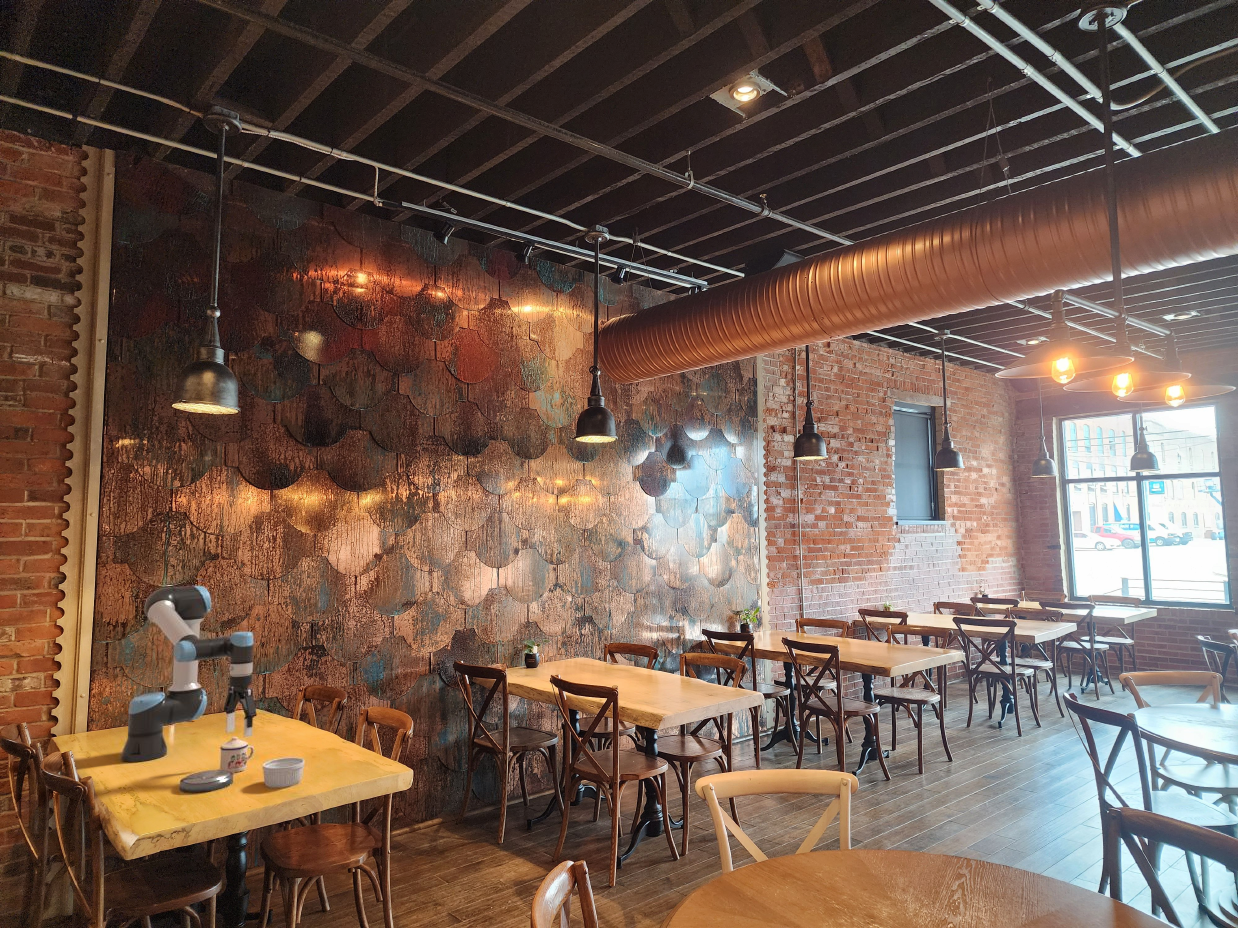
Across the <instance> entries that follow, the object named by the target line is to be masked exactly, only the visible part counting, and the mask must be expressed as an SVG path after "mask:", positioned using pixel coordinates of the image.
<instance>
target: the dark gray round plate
mask: <svg viewBox="0 0 1238 928" xmlns="http://www.w3.org/2000/svg"><path fill="white" fill-rule="evenodd" d="M233 783H234V773H232V772H230V771H226V770H220V769H214V770H213V769H211V770H205V771H197V772H195V773H191V774H189V775H187V776H184V777H183V778H181V779H180V780H179V791H180V792H182V793H184V794H201V793H203V794H204V793H208V792H214V791H219V790H223V789H225V788H227V787H229V786H231V785H232V784H233ZM230 784H231V785H230Z"/></svg>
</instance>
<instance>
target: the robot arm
mask: <svg viewBox="0 0 1238 928" xmlns="http://www.w3.org/2000/svg"><path fill="white" fill-rule="evenodd" d="M211 599H212V598H211V595H210V592H209V590H208V589H207V588H206V587H204V586H202V585H186V586H171V587H169V586H166V587H161V588H159V589H157V590H155V591H154V592H152V593H151V594H150V595H149V596H148V597H147V599H146V601H145V604H144V606H143V607H144V608H143V609H144V614H145V616H146V617H147V619H148V620H149V621H150V622H152V623H155V624H156V625H157V626H158V628H160V629H161V631H162V632H163V634H164V636H166V637H167V639H168V640H169V641H170V642H171V643H172V644H173V674H172V675H173V676H172V685H171V686H170V687H168V689H167V694H165V692H163V691H155V692H148V693H145V694H142V695H141V694H140V695H138V696H136V697H134V698H133V699H132V700H130V702H129V708H128V720H127V721H128V723H127V739H126V741H125V744H124V746H123V748H122V751H121V755H120V760H121V762H126V763H138V762H147V761H152V760H156V759H159V758H162V757H164V756H166V755H167V754H168V745H167V743H166V739H165V737H164V733H163V731H164V726H168V725H172V724H173V725H175V724H179V723H185V722H187V723H188V722H190V721H194V720H198V719H200V718H201V716H203V714H204V713H205V710H206V708H207V704H208V703H207V702H208V697H207V693H206V690H204V689H202V685H201V684H200V683H199V682H198V674H199V673H198V670H199V661H203V660H212V659H220V658H221V659H222V658H229V659H230V660H229V667H228V669H229V675H230V676H229V681H228V685H229V686H228V688H227V689H228V691H227V695H226V699H225V703H224V706H223V712H225V714H226V725H225V726H226V727H225V728H226V729H225V732H226V733H231V732H234V731H235V729H236V728H235V727H236V724H235V723H236V708H237V706H238V703H239V704H241V706H242V707H241V708H242V710H243V713H244V717H243V721H244V723H243V738H249V737H253V733H254V732H253V730H254V729H253V727H254V726H253V725H254V724H253V722H254V717H257V709H256V705H255V704H256V703H255V700H254V691H253V689H251V688H250V689H249V686H251V685H252V684H253V675H252V673H253V670H254V669H253V668H254V666H253V664H254V663H253V660H254V659H253V657H254V643H255V642H254V634H253V633H254V632H251V631H235V632H232V633H231V635H221V636H219V637H211V638H209V637H208V638H200V630H201V629H200V626H201V623H202V622H203V620H205V615H207V614H208V613H209V612H210V611H211V608H212V600H211Z"/></svg>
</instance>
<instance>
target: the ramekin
mask: <svg viewBox="0 0 1238 928" xmlns="http://www.w3.org/2000/svg"><path fill="white" fill-rule="evenodd" d="M305 764H306V763H305V759H304V758H301V757H290V756H289V757H281V758H275V759H272V760H271V759H270V760H269V761H266V762H265V763H263V764H262V771H263V782H264V784H265V786H266V787H268V788H271V789H282V788H289V787H292V786H295V785H297V784H299V783H300V781H301V780H302V778H303V774H304V773H303V772H304V767H305Z"/></svg>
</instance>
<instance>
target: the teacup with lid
mask: <svg viewBox="0 0 1238 928" xmlns="http://www.w3.org/2000/svg"><path fill="white" fill-rule="evenodd" d="M219 749H220V758H219V759H220V762H219V763H220V764H219V770H226V771H230V772H232V773H233V774H236V773H235V772H237V773H241V772H244V771H245V770H246V769H247V765H248V763H247V762H248V761H249V760H251V758H252V757H253V756H254V754H255V748H254V747H253V746H252V745H249V743H248V742H247V741H245V740H241V739H239V738H238V737H237V736H233V737H231V740H229V741H227V742H225V743H222V744H221V745H220V747H219ZM248 749H250V754H249V755H248ZM243 770H244V771H243ZM240 771H241V772H240Z"/></svg>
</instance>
